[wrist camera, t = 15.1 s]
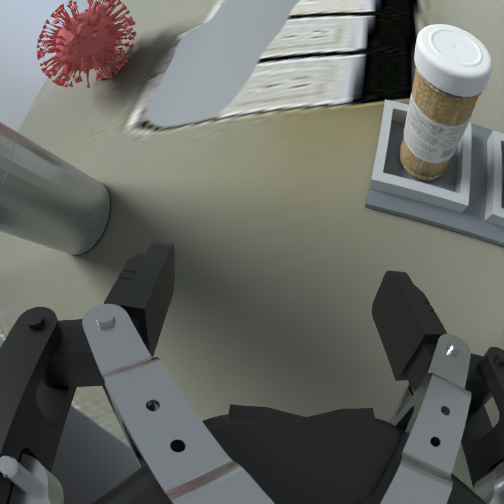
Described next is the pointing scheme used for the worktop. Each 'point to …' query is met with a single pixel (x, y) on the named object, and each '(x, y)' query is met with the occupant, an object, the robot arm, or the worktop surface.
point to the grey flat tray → (442, 181)
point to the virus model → (86, 41)
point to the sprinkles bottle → (442, 97)
